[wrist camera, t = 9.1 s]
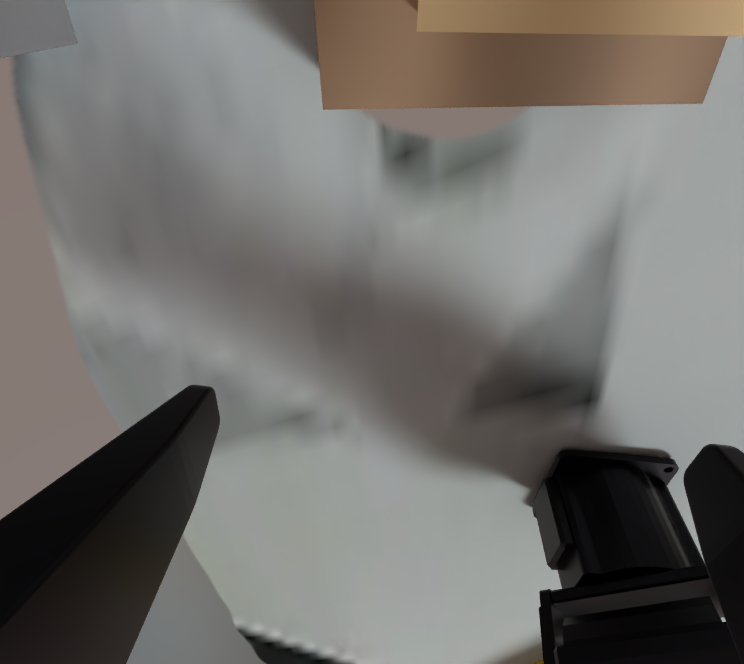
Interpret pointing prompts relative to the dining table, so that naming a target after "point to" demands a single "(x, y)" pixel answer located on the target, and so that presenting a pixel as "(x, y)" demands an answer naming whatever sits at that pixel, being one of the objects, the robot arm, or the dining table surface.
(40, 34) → the grey cube
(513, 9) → the oak cube
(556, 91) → the walnut base
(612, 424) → the dining table surface
